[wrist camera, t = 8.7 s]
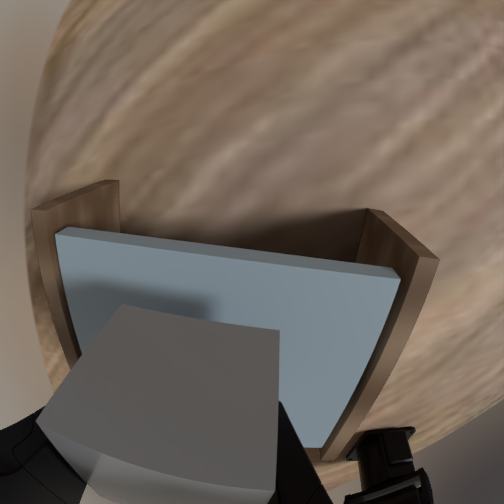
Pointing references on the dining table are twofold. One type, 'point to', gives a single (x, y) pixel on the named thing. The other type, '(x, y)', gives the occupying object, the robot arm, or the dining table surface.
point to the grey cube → (171, 411)
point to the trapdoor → (242, 307)
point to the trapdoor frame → (370, 253)
